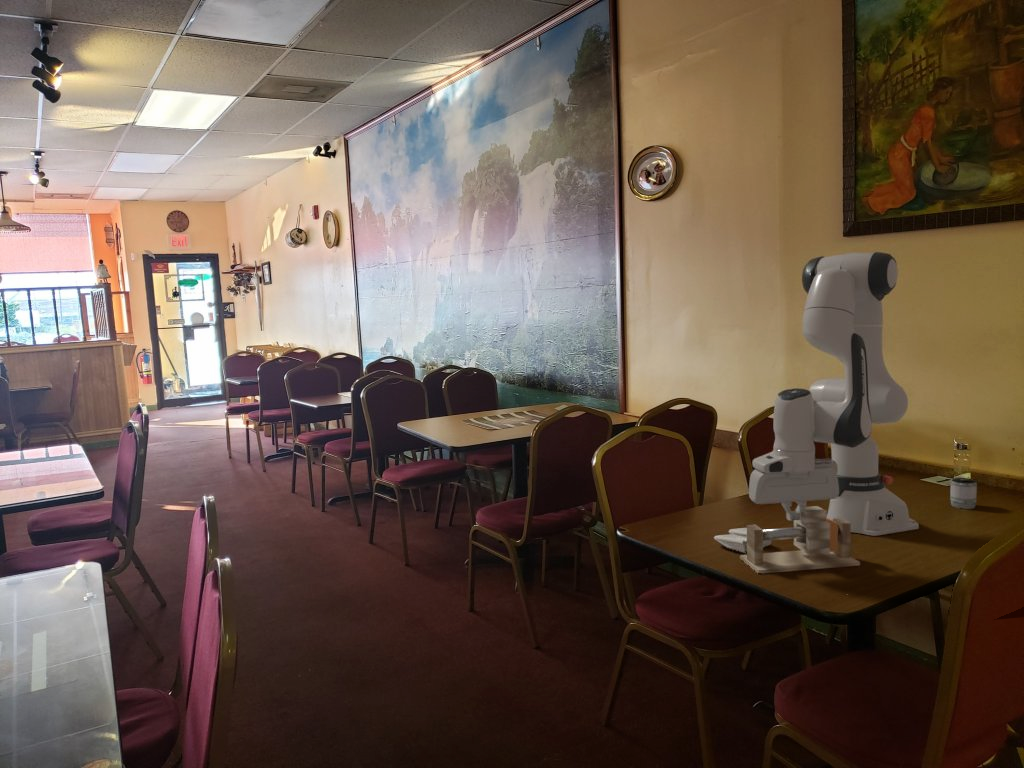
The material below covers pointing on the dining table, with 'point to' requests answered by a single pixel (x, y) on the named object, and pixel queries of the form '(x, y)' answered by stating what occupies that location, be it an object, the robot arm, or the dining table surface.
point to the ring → (833, 535)
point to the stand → (797, 553)
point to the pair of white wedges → (737, 540)
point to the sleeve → (814, 531)
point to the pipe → (786, 533)
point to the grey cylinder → (963, 493)
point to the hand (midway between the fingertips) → (794, 519)
